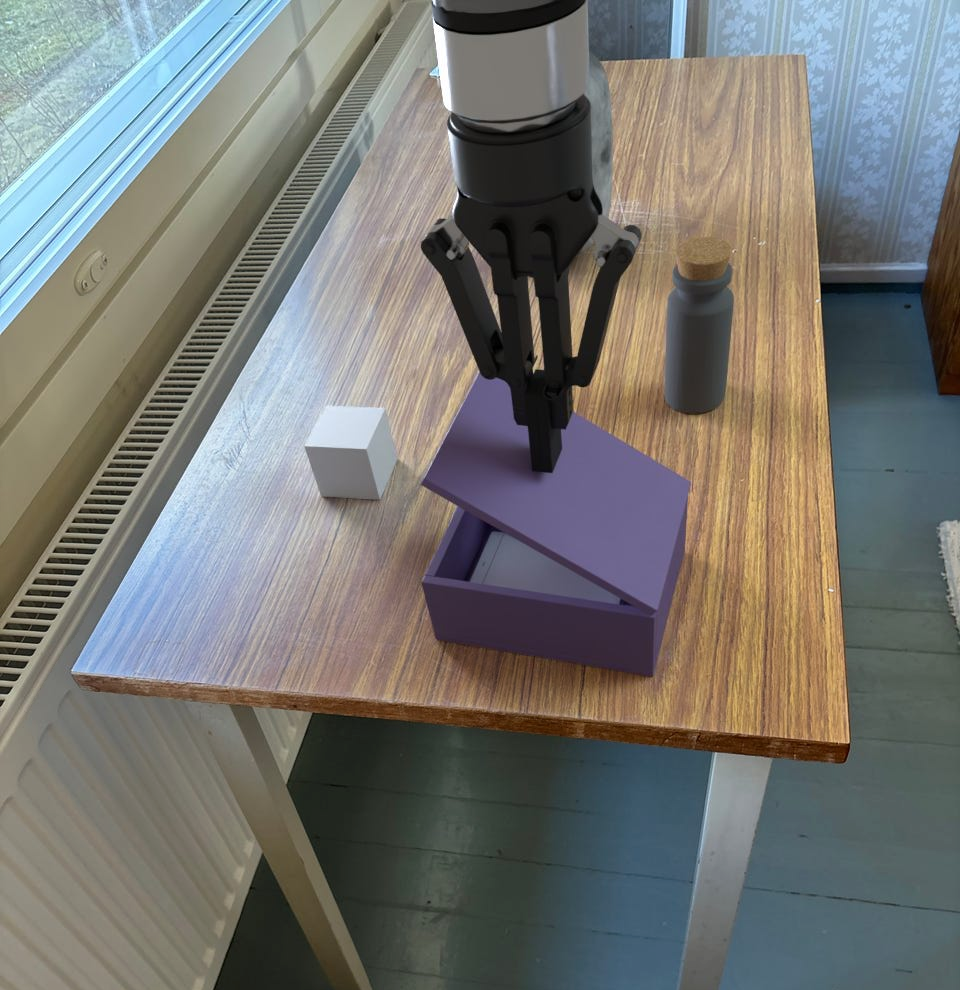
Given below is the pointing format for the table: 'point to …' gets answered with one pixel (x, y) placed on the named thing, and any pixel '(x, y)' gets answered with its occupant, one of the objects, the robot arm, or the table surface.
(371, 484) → the white cube
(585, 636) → the box
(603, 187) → the vase
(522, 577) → the hard drive
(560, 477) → the lid
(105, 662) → the table surface
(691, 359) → the bottle
